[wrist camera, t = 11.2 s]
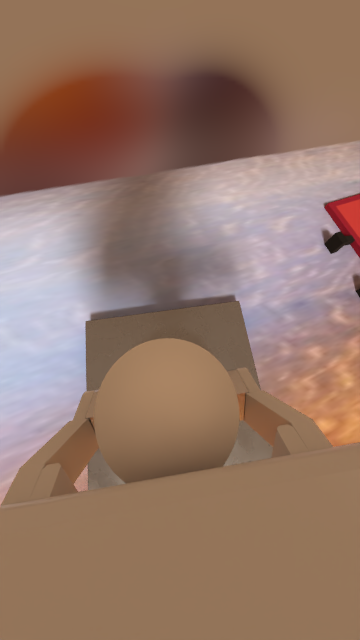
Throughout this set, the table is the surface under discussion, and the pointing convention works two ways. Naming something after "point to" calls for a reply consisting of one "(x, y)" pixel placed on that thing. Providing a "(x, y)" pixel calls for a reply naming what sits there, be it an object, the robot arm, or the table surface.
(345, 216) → the red board with handle
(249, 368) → the ring mount
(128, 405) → the banded peg cylinder
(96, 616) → the robot arm
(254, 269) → the table surface
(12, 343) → the table surface
